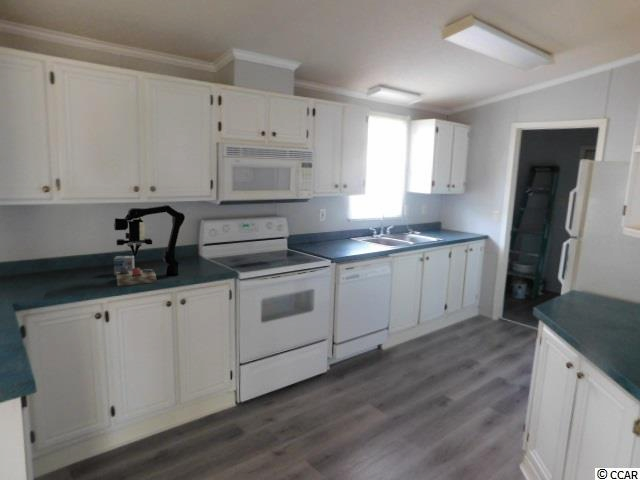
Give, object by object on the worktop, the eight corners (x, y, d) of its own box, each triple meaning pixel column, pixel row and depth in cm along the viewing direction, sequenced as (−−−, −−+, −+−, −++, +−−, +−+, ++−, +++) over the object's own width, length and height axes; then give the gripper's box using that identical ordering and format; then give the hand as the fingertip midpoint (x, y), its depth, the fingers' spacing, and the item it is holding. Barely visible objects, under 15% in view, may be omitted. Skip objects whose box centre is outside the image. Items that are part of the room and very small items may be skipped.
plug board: (153, 275, 247) (152, 269, 247) (156, 282, 233) (156, 275, 233) (116, 279, 238) (116, 272, 237) (117, 285, 224) (117, 278, 223)
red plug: (140, 275, 234) (139, 267, 233) (140, 276, 231) (140, 269, 230) (132, 275, 232) (132, 268, 232) (133, 277, 229) (132, 269, 228)
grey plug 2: (149, 276, 244) (149, 268, 244) (150, 277, 241) (150, 270, 240) (142, 276, 242) (142, 269, 242) (143, 278, 239) (143, 270, 238)
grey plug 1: (127, 273, 238) (127, 265, 238) (128, 274, 235) (127, 267, 234) (120, 273, 236) (119, 266, 236) (120, 275, 233) (120, 267, 232)
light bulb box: (114, 275, 246) (113, 258, 244) (116, 272, 252) (115, 256, 250) (133, 274, 249) (132, 257, 247) (135, 272, 255) (134, 255, 253)
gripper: (150, 228, 246) (150, 253, 248) (115, 228, 237) (116, 254, 239) (152, 230, 236) (152, 256, 239) (116, 230, 227) (117, 258, 230)
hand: (134, 256), depth 237 cm, fingers closed
